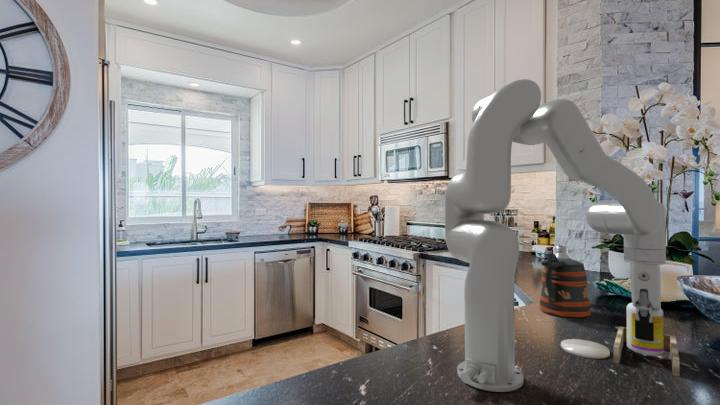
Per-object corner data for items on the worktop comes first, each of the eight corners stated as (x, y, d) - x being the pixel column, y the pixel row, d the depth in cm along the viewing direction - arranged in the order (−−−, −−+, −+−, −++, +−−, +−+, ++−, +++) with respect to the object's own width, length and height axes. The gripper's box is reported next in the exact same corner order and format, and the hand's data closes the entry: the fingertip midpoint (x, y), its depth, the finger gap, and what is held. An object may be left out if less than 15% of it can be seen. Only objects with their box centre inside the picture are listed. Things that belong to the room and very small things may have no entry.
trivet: (607, 362, 81) (607, 358, 81) (557, 351, 87) (556, 348, 87) (611, 348, 89) (611, 345, 89) (564, 339, 95) (564, 336, 95)
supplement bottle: (670, 358, 79) (670, 298, 79) (636, 355, 80) (635, 296, 80) (652, 346, 85) (652, 291, 86) (620, 344, 87) (620, 290, 87)
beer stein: (579, 325, 106) (578, 256, 106) (526, 314, 116) (526, 251, 116) (596, 312, 119) (595, 250, 119) (548, 303, 129) (547, 246, 130)
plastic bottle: (572, 300, 133) (571, 245, 133) (571, 304, 127) (570, 247, 127) (552, 298, 136) (551, 244, 137) (550, 302, 131) (549, 246, 131)
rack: (679, 376, 74) (679, 359, 74) (613, 362, 81) (613, 346, 81) (675, 350, 87) (675, 335, 87) (619, 339, 94) (619, 326, 94)
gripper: (666, 262, 74) (667, 351, 74) (664, 253, 87) (665, 328, 87) (621, 258, 79) (621, 342, 78) (626, 251, 92) (626, 322, 92)
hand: (644, 334), depth 83 cm, fingers closed on supplement bottle, 6 cm apart
